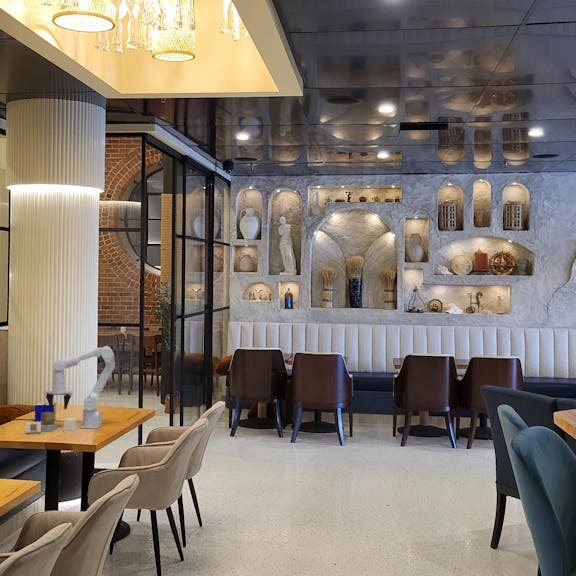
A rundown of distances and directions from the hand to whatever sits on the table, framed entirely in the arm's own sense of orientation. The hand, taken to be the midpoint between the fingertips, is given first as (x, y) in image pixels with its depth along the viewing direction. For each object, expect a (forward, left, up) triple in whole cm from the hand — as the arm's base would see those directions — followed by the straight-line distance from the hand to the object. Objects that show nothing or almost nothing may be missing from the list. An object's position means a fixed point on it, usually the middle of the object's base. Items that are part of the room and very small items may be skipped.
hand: (58, 408), depth 392 cm
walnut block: (+3, +7, -7) cm, 10 cm away
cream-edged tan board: (+7, +16, -10) cm, 20 cm away
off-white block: (-8, +5, -10) cm, 14 cm away
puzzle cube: (+15, -19, -11) cm, 27 cm away
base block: (+4, +7, -11) cm, 13 cm away
